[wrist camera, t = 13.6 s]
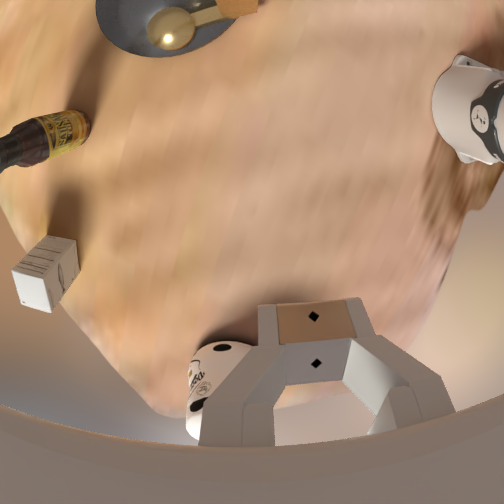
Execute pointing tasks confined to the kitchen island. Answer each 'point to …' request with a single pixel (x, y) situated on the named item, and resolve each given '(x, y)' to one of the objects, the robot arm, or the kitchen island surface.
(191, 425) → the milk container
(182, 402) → the kitchen island surface
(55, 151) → the sauce bottle
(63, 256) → the supplement box
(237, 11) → the lever knob
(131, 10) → the levelling plate
